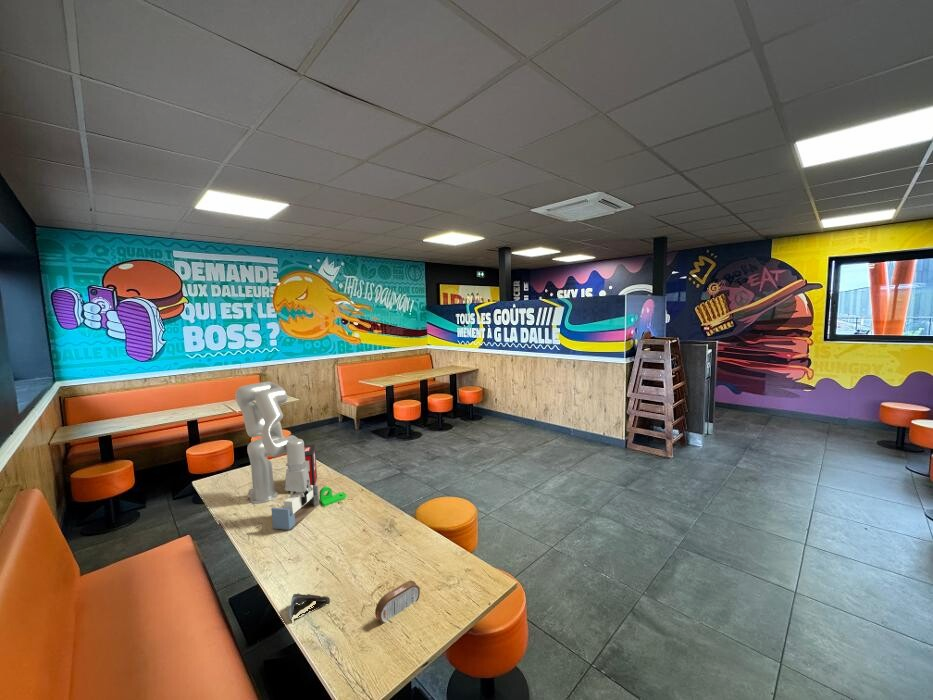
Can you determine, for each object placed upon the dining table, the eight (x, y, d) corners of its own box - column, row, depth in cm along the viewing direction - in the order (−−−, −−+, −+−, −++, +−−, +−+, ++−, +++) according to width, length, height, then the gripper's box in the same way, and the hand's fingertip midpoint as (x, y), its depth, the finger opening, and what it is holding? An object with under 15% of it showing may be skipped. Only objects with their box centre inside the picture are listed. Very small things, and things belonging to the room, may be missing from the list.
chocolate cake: (326, 591, 125) (295, 577, 121) (332, 598, 120) (300, 584, 116) (309, 623, 121) (276, 610, 117) (314, 632, 115) (280, 618, 111)
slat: (285, 513, 167) (283, 501, 167) (306, 496, 183) (305, 484, 182) (293, 514, 167) (291, 501, 166) (313, 497, 182) (312, 485, 182)
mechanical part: (324, 508, 181) (323, 492, 180) (320, 503, 186) (319, 488, 185) (348, 499, 189) (347, 484, 188) (343, 495, 194) (342, 480, 193)
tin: (416, 598, 122) (415, 574, 121) (421, 603, 120) (421, 579, 119) (375, 624, 112) (373, 599, 111) (380, 631, 110) (379, 605, 109)
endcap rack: (272, 529, 163) (271, 508, 162) (304, 503, 186) (302, 484, 185) (291, 531, 162) (289, 509, 161) (320, 504, 184) (319, 485, 183)
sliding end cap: (272, 528, 163) (271, 508, 162) (278, 523, 167) (277, 503, 166) (289, 529, 161) (288, 509, 160) (295, 524, 165) (293, 505, 164)
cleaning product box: (314, 490, 199) (312, 454, 197) (296, 493, 197) (293, 456, 195) (317, 477, 215) (314, 444, 213) (300, 480, 212) (297, 446, 210)
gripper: (275, 468, 171) (278, 506, 172) (308, 470, 168) (311, 508, 170) (285, 462, 178) (288, 498, 180) (317, 463, 175) (320, 500, 177)
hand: (299, 503), depth 175 cm, fingers closed on slat, 4 cm apart
